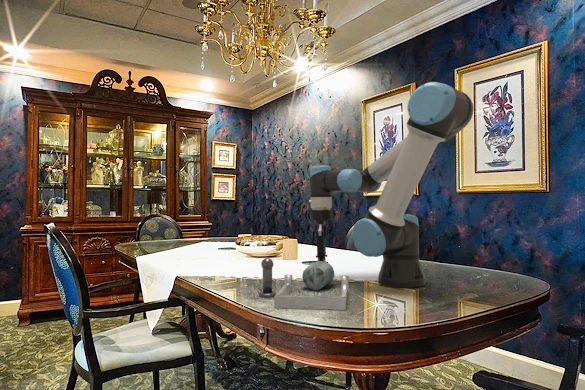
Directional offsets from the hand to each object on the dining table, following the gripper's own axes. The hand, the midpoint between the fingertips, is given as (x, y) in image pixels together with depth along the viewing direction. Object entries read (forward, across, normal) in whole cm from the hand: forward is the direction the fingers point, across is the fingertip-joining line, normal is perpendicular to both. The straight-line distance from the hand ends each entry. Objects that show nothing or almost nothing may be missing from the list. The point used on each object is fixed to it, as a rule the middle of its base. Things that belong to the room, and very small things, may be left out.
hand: (321, 275), depth 140 cm
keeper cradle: (+1, +30, 0) cm, 30 cm away
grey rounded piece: (+2, +13, 0) cm, 13 cm away
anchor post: (+1, +26, -14) cm, 29 cm away
